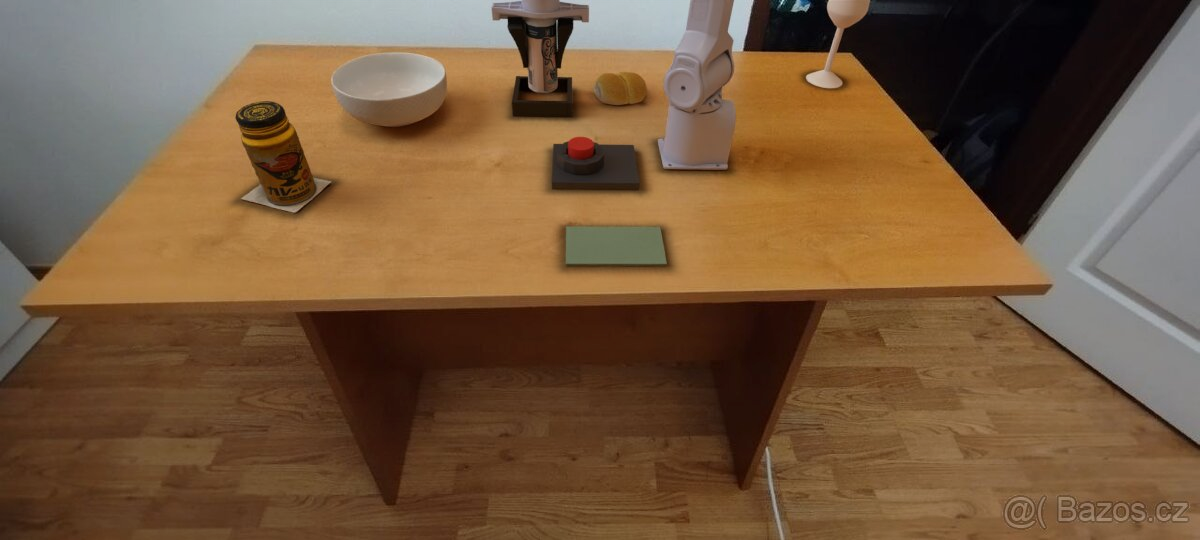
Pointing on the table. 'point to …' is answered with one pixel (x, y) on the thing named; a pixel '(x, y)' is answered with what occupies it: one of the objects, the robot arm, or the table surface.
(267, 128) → the condiment
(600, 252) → the mat
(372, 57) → the cereal bowl
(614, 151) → the control block
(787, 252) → the table surface
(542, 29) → the beer can
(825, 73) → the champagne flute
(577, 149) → the button
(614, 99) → the bread roll
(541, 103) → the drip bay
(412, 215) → the table surface
